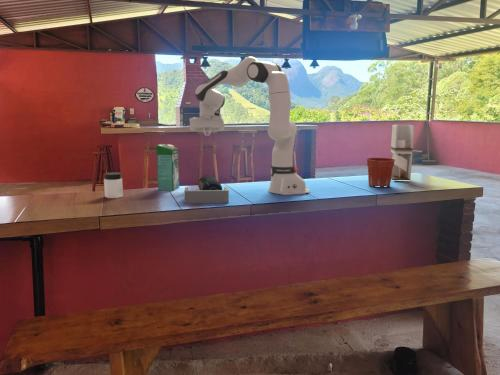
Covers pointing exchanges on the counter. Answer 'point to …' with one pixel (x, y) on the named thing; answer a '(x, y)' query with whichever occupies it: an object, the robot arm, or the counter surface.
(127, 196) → the counter surface
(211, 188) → the portable speaker
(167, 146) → the milk carton
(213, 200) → the tray
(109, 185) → the jar
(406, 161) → the white two-tier box
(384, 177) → the flower pot
